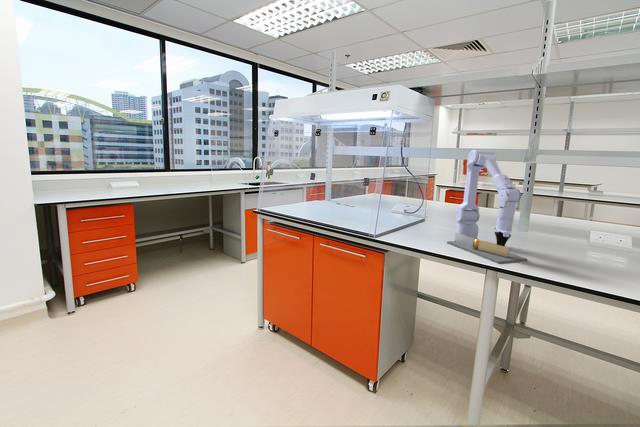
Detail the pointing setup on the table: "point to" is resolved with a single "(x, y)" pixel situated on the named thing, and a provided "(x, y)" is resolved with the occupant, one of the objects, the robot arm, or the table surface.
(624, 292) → the table surface
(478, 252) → the board
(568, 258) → the table surface
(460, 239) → the fixed leaf
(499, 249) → the swing leaf
